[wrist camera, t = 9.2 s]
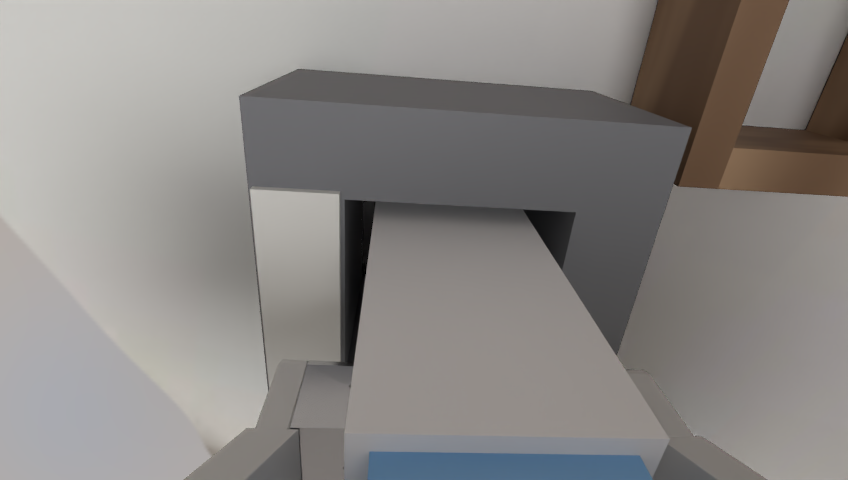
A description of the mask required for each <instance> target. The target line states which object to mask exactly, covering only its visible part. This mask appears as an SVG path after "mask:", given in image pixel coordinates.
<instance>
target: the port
mask: <svg viewBox="0 0 848 480" xmlns="http://www.w3.org/2000/svg"><path fill="white" fill-rule="evenodd" d="M239 100H240V110H241V120H242V130H243V140H244V151H245V161H246V171H247V181H248V191H249V201H250V211H251V221H252V231H253V242H254V252H255V262H256V272H257V282H258V292H259V302H260V312H261V323H262V333H263V343H264V353H265V363H266V373H267V383H268V391H269V388H270V385H271V383H272V380H273V377H274V374H275V372H276V369H277V366H278V364H279V363H280V362H281V360H282V359H287V360H306V361H309V360H316V361H335V362H354V359H355V351H356V344H357V337H358V329H359V322H360V314H361V307H362V300H363V292H364V285H365V278H366V276H362V235H363V201H379V202H398V203H416V204H434V205H452V206H470V207H488V208H506V209H523V211H524V212H525V214H526V215H527V217H528V219H529V220H530V222H531V223H532V225H533V226H534V228H535V229H536V231H537V233H538V234H539V236H540V237H541V239H542V240H543V242H544V244H545V245H546V247H547V248H548V250H549V251H550V253H551V254H552V256H553V258H554V259H555V261H556V262H557V264H558V265H559V267H560V268H561V270H562V272H563V273H564V275H565V276H566V278H567V279H568V281H569V282H570V284H571V286H572V287H573V289H574V290H575V292H576V293H577V295H578V297H579V298H580V300H581V301H582V303H583V304H584V306H585V307H586V309H587V311H588V312H589V314H590V315H591V317H592V318H593V320H594V321H595V323H596V325H597V326H598V328H599V329H600V331H601V332H602V334H603V336H604V337H605V339H606V340H607V342H608V343H609V345H610V346H611V348H612V350H613V351H614V353H615V354H616V356H617V353H618V350H619V347H620V344H621V341H622V338H623V335H624V332H625V329H626V326H627V323H628V320H629V317H630V314H631V311H632V308H633V305H634V302H635V299H636V296H637V293H638V290H639V287H640V284H641V280H642V277H643V274H644V271H645V268H646V265H647V262H648V259H649V256H650V253H651V250H652V247H653V244H654V241H655V238H656V235H657V232H658V229H659V226H660V223H661V220H662V217H663V214H664V211H665V208H666V205H667V202H668V199H669V196H670V193H671V190H672V187H673V184H674V181H675V178H676V175H677V172H678V169H679V166H680V163H681V160H682V157H683V154H684V151H685V148H686V145H687V142H688V139H689V135H690V132H691V129H692V127H689V126H686V125H683V124H681V123H678V122H675V121H672V120H670V119H667V118H664V117H662V116H659V115H656V114H653V113H651V112H648V111H645V110H642V109H640V108H637V107H634V106H631V105H629V104H626V103H623V102H620V101H618V100H615V99H612V98H609V97H607V96H604V95H601V94H598V93H596V92H593V91H584V90H571V89H558V88H544V87H531V86H518V85H505V84H491V83H478V82H465V81H451V80H438V79H425V78H411V77H398V76H385V75H371V74H358V73H345V72H332V71H318V70H305V69H297V70H295V71H293V72H291V73H289V74H286V75H284V76H282V77H280V78H277V79H275V80H273V81H271V82H269V83H266V84H264V85H262V86H260V87H257V88H255V89H253V90H251V91H249V92H246V93H244V94H242V95H240V96H239Z"/></svg>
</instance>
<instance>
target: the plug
mask: <svg viewBox="0 0 848 480" xmlns="http://www.w3.org/2000/svg"><path fill="white" fill-rule="evenodd" d="M669 440H670V438H669V437H668V435H667V434H666V432H665V431H664V429H663V428H662V426H661V424H660V423H659V421H658V420H657V418H656V417H655V415H654V414H653V412H652V410H651V409H650V407H649V406H648V404H647V403H646V401H645V399H644V398H643V396H642V395H641V393H640V392H639V390H638V389H637V387H636V385H635V384H634V382H633V381H632V379H631V378H630V376H629V375H628V373H627V371H626V370H625V368H624V367H623V365H622V364H621V362H620V360H619V359H618V357H617V356H616V354H615V353H614V351H613V350H612V348H611V346H610V345H609V343H608V342H607V340H606V339H605V337H604V336H603V334H602V332H601V331H600V329H599V328H598V326H597V325H596V323H595V321H594V320H593V318H592V317H591V315H590V314H589V312H588V311H587V309H586V307H585V306H584V304H583V303H582V301H581V300H580V298H579V297H578V295H577V293H576V292H575V290H574V289H573V287H572V286H571V284H570V282H569V281H568V279H567V278H566V276H565V275H564V273H563V272H562V270H561V268H560V267H559V265H558V264H557V262H556V261H555V259H554V258H553V256H552V254H551V253H550V251H549V250H548V248H547V247H546V245H545V244H544V242H543V240H542V239H541V237H540V236H539V234H538V233H537V231H536V229H535V228H534V226H533V225H532V223H531V222H530V220H529V219H528V217H527V215H526V214H525V212H524V211H523V209H506V208H488V207H470V206H452V205H434V204H416V203H398V202H379V201H376V204H375V211H374V219H373V226H372V233H371V241H370V248H369V255H368V263H367V270H366V278H365V285H364V292H363V300H362V307H361V314H360V322H359V329H358V337H357V344H356V351H355V359H354V366H353V373H352V381H351V388H350V395H349V403H348V410H347V418H346V425H345V432H344V480H653V479H652V478H653V475H654V473H655V471H656V469H657V467H658V464H659V462H660V460H661V458H662V456H663V453H664V451H665V449H666V447H667V445H668V442H669Z"/></svg>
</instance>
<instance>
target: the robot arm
mask: <svg viewBox="0 0 848 480" xmlns="http://www.w3.org/2000/svg"><path fill="white" fill-rule="evenodd" d="M353 366H354V362H335V361H316V360H309V361H306V360H287V359H282V360H281V362H280V363H279V364H278V366H277V369H276V372H275V374H274V377H273V380H272V383H271V385H270V388H269V391H268V394H267V397H266V399H265V402H264V405H263V408H262V411H261V413H260V416H259V419H258V422H257V425H256V427H255V428H246V429H245V430H244V431H243V432H241V433H240V434H239V435H238V436H237V437H235V438H234V439H233V440H232V441H230V442H229V443H228V444H227V445H226V446H224V447H223V448H222V449H221V450H219V451H218V452H217V453H216V454H214V455H213V456H212V457H211V458H210V459H208V460H207V461H206V462H205V463H203V464H202V465H201V466H200V467H199V468H197V469H196V470H195V471H194V472H192V473H191V474H190V475H189V476H188V477H186V478H185V479H184V480H344V432H345V425H346V418H347V410H348V403H349V395H350V388H351V381H352V373H353ZM626 371H627V373H628V375H629V376H630V378H631V379H632V381H633V382H634V384H635V385H636V387H637V389H638V390H639V392H640V393H641V395H642V396H643V398H644V399H645V401H646V403H647V404H648V406H649V407H650V409H651V410H652V412H653V414H654V415H655V417H656V418H657V420H658V421H659V423H660V424H661V426H662V428H663V429H664V431H665V432H666V434H667V435H668V437H669V438H670V440H669V442H668V445H667V447H666V449H665V451H664V453H663V456H662V458H661V460H660V462H659V464H658V467H657V469H656V471H655V473H654V475H653V478H652V479H653V480H767V479H765V478H764V477H762V476H761V475H759V474H758V473H756V472H755V471H753V470H752V469H750V468H749V467H747V466H746V465H744V464H743V463H741V462H740V461H738V460H737V459H735V458H734V457H732V456H731V455H729V454H728V453H726V452H725V451H723V450H722V449H720V448H719V447H717V446H716V445H714V444H713V443H711V442H709V441H708V440H706V439H705V438H703V437H701V436H693V434H692V433H691V431H690V430H689V429H688V427H687V426H686V424H685V423H684V422H683V420H682V419H681V417H680V416H679V415H678V413H677V412H676V410H675V409H674V408H673V406H672V405H671V403H670V402H669V401H668V399H667V398H666V396H665V395H664V394H663V392H662V391H661V389H660V388H659V387H658V385H657V384H656V382H655V381H654V380H653V378H652V377H651V375H650V374H649V373H647V372H646V371H644V370H626Z"/></svg>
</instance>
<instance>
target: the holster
mask: <svg viewBox="0 0 848 480" xmlns="http://www.w3.org/2000/svg"><path fill="white" fill-rule="evenodd" d="M788 2H789V0H658V4H657V8H656V12H655V15H654V19H653V23H652V27H651V30H650V34H649V38H648V42H647V45H646V49H645V53H644V57H643V60H642V64H641V68H640V72H639V75H638V79H637V83H636V87H635V90H634V94H633V98H632V102H631V106H634V107H637V108H640V109H642V110H645V111H648V112H651V113H653V114H656V115H659V116H662V117H664V118H667V119H670V120H672V121H675V122H678V123H681V124H683V125H686V126H689V127H692V129H691V132H690V135H689V139H688V142H687V145H686V148H685V151H684V154H683V157H682V160H681V163H680V166H679V169H678V172H677V175H676V178H675V181H674V184H675V185H677V186H680V187H697V188H714V189H730V190H747V191H763V192H780V193H796V194H813V195H829V196H846V197H848V36H847V38H846V40H845V42H844V45H843V47H842V49H841V51H840V54H839V56H838V58H837V61H836V63H835V65H834V67H833V70H832V72H831V74H830V76H829V79H828V81H827V83H826V85H825V88H824V90H823V92H822V95H821V97H820V99H819V101H818V104H817V106H816V108H815V110H814V113H813V115H812V117H811V119H810V122H809V124H808V126H807V129H806V130H796V129H782V128H768V127H754V126H742V124H743V121H744V119H745V116H746V113H747V111H748V108H749V105H750V103H751V100H752V97H753V95H754V92H755V89H756V87H757V84H758V82H759V79H760V76H761V74H762V71H763V68H764V66H765V63H766V60H767V58H768V55H769V52H770V50H771V47H772V44H773V42H774V39H775V37H776V34H777V31H778V29H779V26H780V23H781V21H782V18H783V15H784V13H785V10H786V7H787V5H788Z"/></svg>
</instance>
